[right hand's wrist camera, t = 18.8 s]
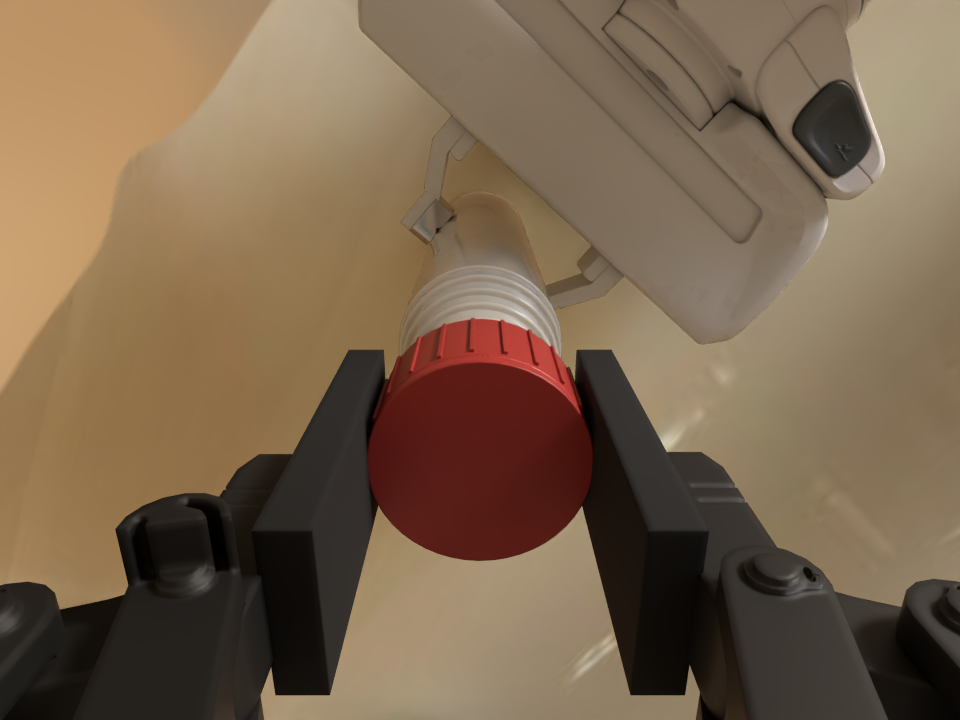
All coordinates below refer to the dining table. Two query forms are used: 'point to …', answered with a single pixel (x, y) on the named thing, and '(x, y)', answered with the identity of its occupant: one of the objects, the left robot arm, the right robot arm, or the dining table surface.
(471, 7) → the left robot arm
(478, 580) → the dining table surface
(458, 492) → the cap
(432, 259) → the bottle
